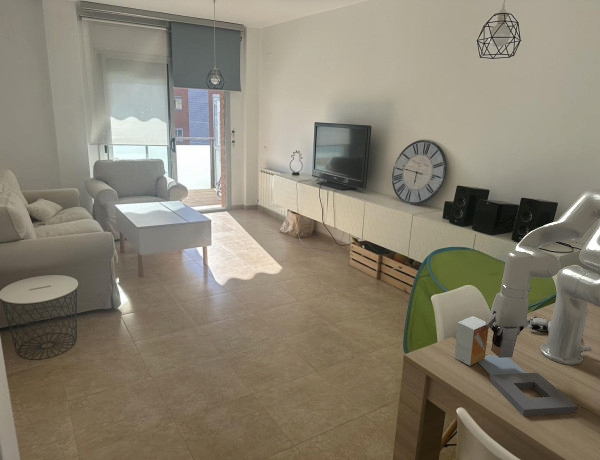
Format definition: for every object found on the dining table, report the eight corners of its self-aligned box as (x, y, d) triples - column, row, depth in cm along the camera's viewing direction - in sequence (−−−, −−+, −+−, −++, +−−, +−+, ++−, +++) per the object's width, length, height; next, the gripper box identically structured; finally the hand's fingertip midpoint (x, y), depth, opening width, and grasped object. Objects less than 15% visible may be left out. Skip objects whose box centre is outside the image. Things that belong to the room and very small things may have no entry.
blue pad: (505, 355, 146) (505, 354, 146) (528, 376, 134) (529, 375, 134) (472, 357, 144) (472, 356, 144) (493, 378, 132) (493, 377, 132)
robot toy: (525, 334, 164) (571, 344, 155) (526, 323, 163) (573, 332, 154) (529, 322, 173) (573, 331, 165) (530, 312, 172) (574, 320, 164)
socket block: (536, 378, 134) (537, 372, 133) (575, 412, 118) (577, 406, 118) (489, 380, 131) (490, 374, 131) (523, 416, 116) (524, 409, 115)
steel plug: (503, 349, 140) (509, 321, 138) (512, 357, 136) (518, 328, 133) (491, 350, 139) (496, 321, 137) (499, 357, 135) (504, 328, 133)
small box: (470, 366, 138) (474, 329, 134) (453, 357, 143) (456, 321, 139) (485, 358, 142) (489, 322, 139) (468, 350, 147) (472, 315, 144)
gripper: (530, 286, 137) (519, 338, 142) (481, 286, 134) (472, 339, 139) (547, 296, 130) (535, 350, 135) (495, 296, 127) (485, 351, 132)
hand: (503, 344), depth 137 cm, fingers closed on steel plug, 4 cm apart
